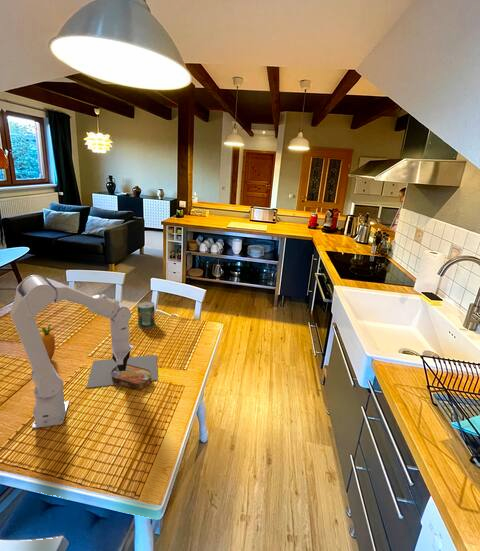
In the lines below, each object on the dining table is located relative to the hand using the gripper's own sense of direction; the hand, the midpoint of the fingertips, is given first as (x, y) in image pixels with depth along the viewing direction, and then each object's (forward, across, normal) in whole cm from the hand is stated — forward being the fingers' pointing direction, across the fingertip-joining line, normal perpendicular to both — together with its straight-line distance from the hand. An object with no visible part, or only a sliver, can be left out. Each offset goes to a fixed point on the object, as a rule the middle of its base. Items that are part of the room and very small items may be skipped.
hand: (122, 369), depth 110 cm
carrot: (+6, +19, +28) cm, 34 cm away
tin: (+4, -3, 0) cm, 5 cm away
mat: (+5, +7, 0) cm, 9 cm away
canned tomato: (+6, +42, -8) cm, 43 cm away
